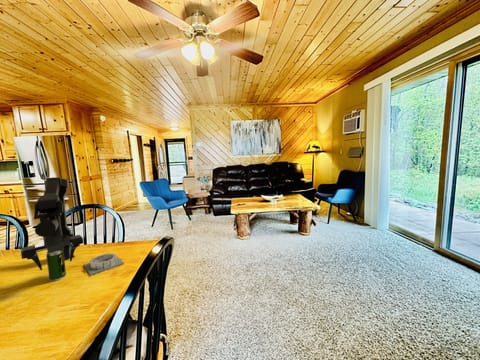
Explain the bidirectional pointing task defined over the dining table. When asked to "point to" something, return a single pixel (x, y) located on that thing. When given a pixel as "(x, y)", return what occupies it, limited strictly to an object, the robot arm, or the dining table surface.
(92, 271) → the socket plate
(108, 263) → the metal collar
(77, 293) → the dining table surface
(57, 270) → the beer can
